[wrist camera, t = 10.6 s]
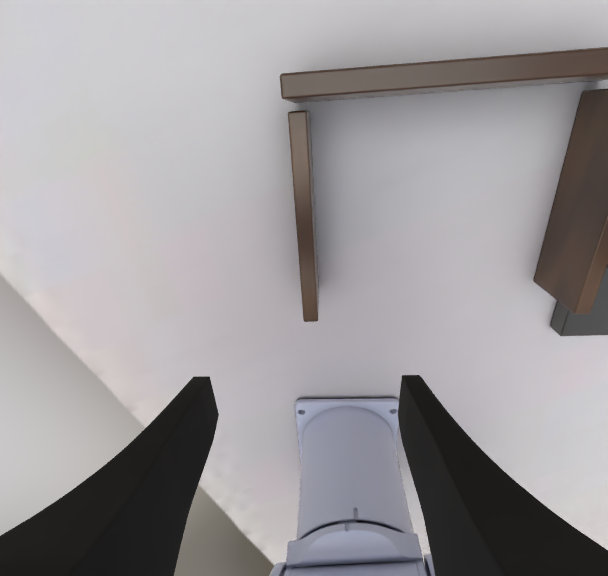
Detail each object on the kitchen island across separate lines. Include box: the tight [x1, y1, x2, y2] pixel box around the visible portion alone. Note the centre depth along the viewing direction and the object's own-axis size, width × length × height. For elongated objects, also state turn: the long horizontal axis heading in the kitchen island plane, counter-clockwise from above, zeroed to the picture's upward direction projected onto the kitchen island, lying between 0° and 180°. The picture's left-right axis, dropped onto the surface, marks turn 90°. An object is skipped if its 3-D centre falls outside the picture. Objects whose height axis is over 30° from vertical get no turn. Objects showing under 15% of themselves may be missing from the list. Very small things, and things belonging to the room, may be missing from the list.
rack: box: [280, 47, 608, 322], centre depth 17 cm, size 12×15×6 cm
